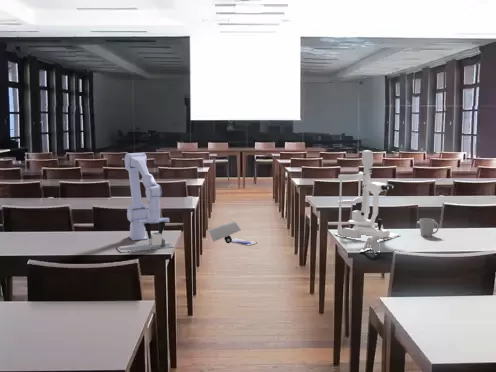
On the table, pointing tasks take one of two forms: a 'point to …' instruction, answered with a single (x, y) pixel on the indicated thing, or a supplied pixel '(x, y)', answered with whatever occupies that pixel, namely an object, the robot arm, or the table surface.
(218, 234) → the grey tilted panel
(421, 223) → the cup
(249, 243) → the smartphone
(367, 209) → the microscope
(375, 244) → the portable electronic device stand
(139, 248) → the rail
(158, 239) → the block
